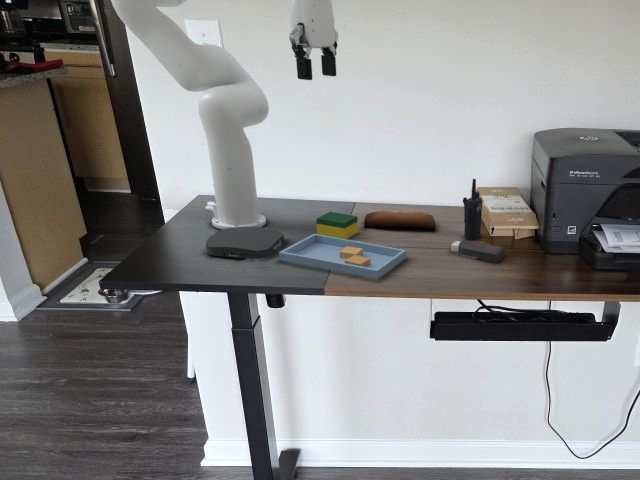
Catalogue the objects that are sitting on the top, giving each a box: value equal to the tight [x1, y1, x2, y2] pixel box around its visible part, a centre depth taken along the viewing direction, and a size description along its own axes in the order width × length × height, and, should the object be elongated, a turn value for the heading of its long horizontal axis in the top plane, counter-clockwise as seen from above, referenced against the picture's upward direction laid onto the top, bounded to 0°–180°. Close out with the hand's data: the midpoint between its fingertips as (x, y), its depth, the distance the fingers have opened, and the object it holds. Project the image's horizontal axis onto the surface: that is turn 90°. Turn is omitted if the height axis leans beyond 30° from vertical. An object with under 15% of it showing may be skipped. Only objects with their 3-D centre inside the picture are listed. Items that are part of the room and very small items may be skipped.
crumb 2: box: [345, 255, 371, 267], centre depth 147 cm, size 4×4×1 cm
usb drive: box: [450, 238, 505, 264], centre depth 159 cm, size 5×12×3 cm, turn 70°
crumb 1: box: [339, 246, 363, 259], centre depth 151 cm, size 4×4×1 cm
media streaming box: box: [205, 226, 285, 259], centre depth 152 cm, size 15×15×3 cm
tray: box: [278, 233, 407, 280], centre depth 150 cm, size 23×14×2 cm, turn 73°
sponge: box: [315, 211, 359, 240], centre depth 164 cm, size 8×6×4 cm
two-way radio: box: [462, 178, 483, 241], centre depth 167 cm, size 6×4×15 cm
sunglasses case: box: [363, 210, 436, 231], centre depth 174 cm, size 18×7×7 cm
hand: (317, 77), depth 144 cm, fingers open, 9 cm apart
